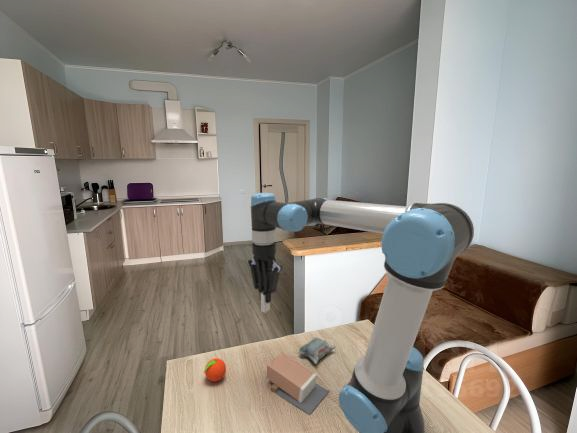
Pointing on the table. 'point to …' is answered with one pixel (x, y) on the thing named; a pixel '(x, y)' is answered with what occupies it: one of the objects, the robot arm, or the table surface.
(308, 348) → the packaged food
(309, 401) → the mat
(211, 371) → the clementine
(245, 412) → the table surface
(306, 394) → the terracotta block
